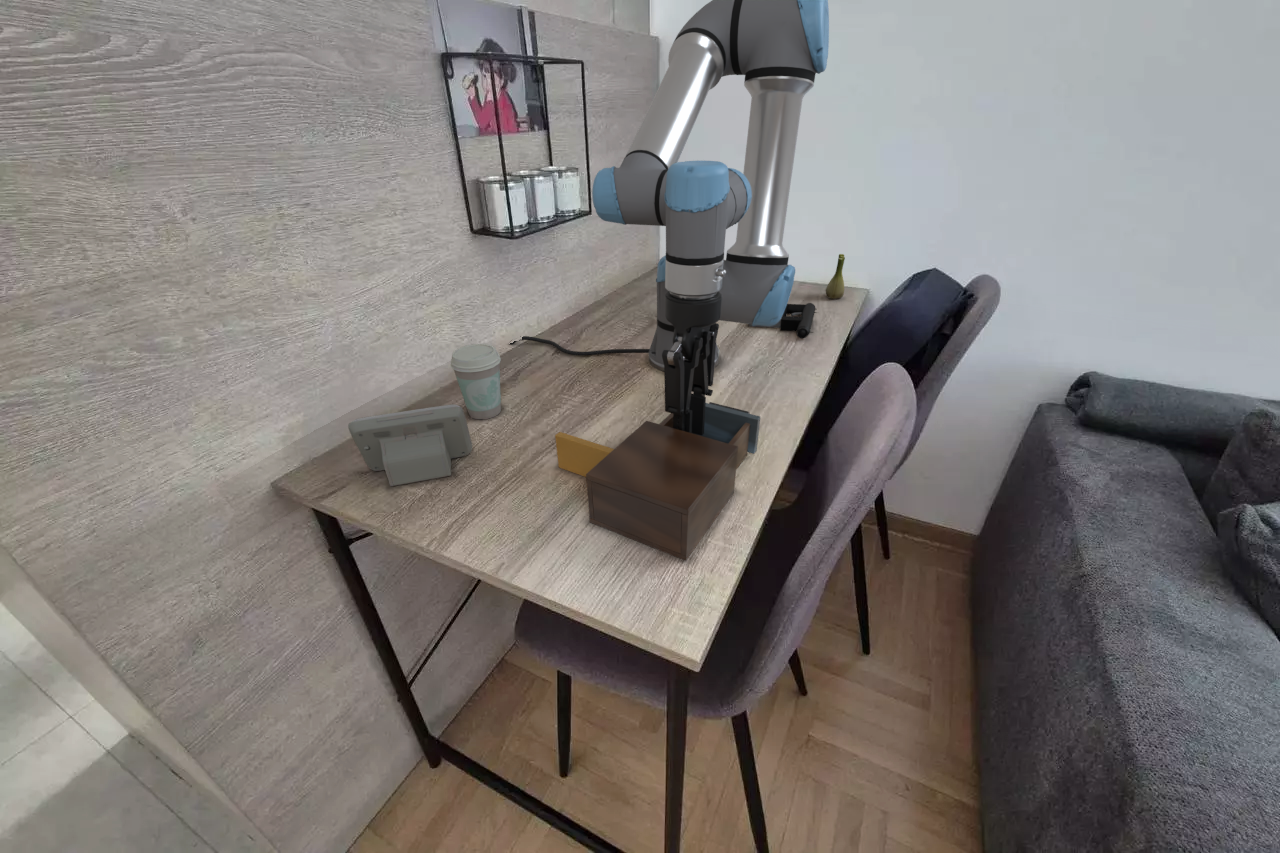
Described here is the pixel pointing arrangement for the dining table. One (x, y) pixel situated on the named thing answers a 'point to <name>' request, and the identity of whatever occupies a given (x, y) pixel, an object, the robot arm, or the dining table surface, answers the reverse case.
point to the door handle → (796, 319)
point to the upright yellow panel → (579, 453)
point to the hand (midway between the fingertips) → (688, 438)
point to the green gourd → (836, 281)
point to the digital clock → (413, 442)
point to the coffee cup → (478, 379)
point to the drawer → (729, 428)
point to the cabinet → (662, 487)
